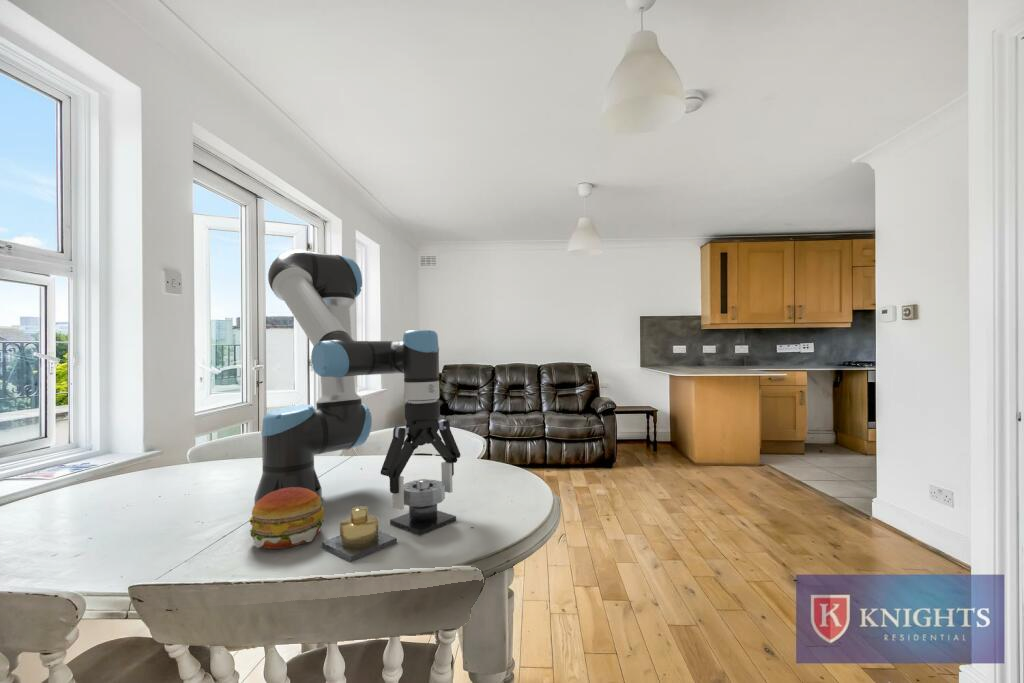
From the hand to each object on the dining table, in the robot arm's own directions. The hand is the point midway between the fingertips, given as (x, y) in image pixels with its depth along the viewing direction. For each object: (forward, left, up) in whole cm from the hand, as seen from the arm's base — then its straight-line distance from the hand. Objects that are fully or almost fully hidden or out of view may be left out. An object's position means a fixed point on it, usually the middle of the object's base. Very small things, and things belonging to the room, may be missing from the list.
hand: (424, 499), depth 99 cm
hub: (-1, -15, -5) cm, 16 cm away
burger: (-15, -22, -5) cm, 27 cm away
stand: (0, 0, -5) cm, 5 cm away
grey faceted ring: (0, 0, 0) cm, 0 cm away
